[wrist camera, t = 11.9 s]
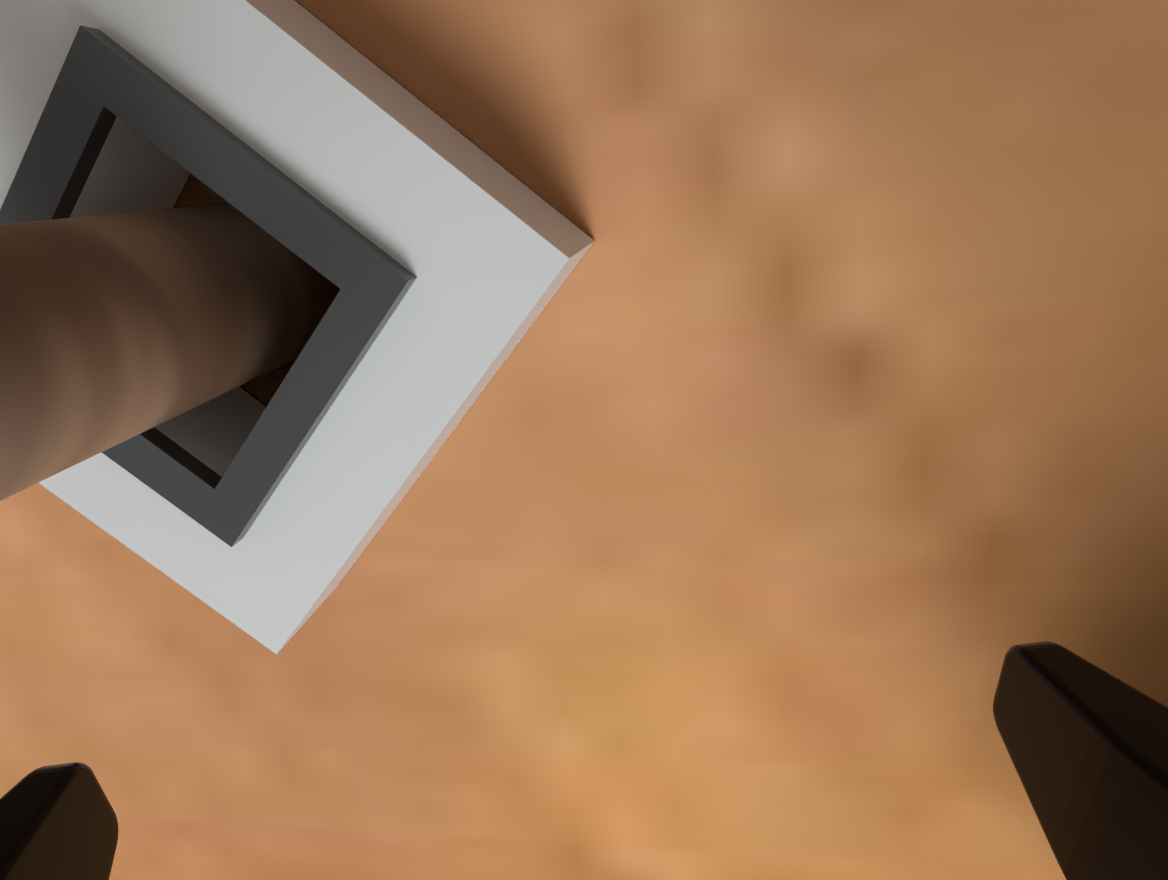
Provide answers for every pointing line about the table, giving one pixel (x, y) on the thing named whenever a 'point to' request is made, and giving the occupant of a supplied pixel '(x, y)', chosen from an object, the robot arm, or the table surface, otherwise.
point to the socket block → (310, 230)
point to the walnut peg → (137, 326)
